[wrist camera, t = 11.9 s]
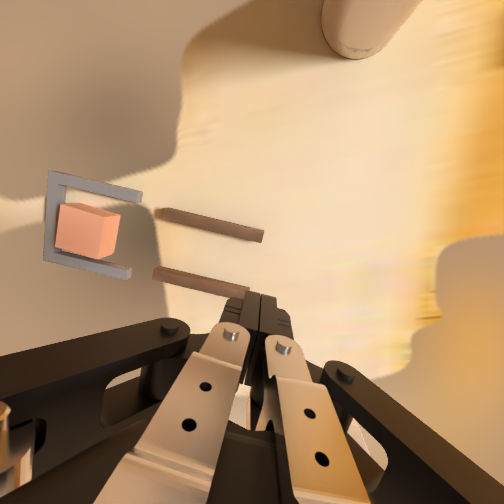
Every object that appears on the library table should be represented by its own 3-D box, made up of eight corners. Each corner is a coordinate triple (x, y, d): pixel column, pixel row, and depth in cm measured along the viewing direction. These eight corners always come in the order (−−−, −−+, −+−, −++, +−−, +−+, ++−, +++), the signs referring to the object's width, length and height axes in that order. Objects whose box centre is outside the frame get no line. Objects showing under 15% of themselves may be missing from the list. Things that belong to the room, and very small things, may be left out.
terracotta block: (81, 203, 39) (60, 203, 35) (120, 214, 39) (104, 217, 35) (75, 241, 40) (54, 246, 36) (113, 253, 40) (97, 259, 36)
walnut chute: (168, 207, 38) (163, 208, 36) (263, 230, 38) (263, 232, 36) (157, 275, 40) (152, 279, 38) (247, 296, 40) (246, 301, 38)
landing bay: (56, 171, 38) (48, 170, 36) (142, 191, 38) (137, 191, 36) (51, 257, 41) (43, 260, 39) (130, 276, 41) (125, 280, 39)
